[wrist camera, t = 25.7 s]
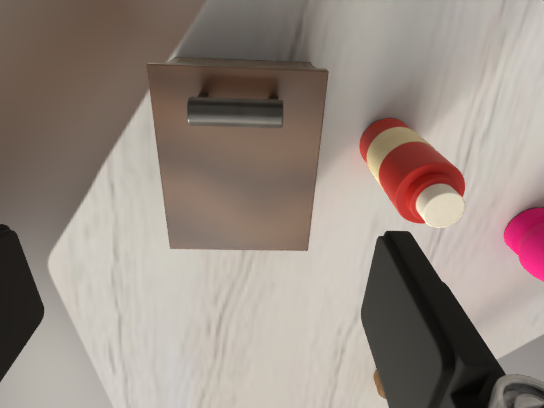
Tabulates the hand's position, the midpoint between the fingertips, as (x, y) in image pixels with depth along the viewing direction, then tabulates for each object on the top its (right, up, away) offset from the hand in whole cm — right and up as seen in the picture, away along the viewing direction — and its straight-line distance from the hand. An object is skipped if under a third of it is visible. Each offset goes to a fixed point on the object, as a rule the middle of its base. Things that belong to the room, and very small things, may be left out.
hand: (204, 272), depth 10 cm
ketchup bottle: (+14, +8, +28) cm, 33 cm away
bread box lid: (-1, +5, +20) cm, 21 cm away
